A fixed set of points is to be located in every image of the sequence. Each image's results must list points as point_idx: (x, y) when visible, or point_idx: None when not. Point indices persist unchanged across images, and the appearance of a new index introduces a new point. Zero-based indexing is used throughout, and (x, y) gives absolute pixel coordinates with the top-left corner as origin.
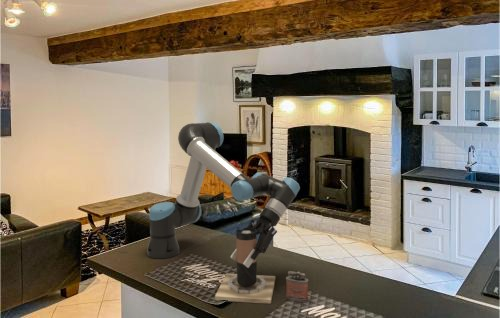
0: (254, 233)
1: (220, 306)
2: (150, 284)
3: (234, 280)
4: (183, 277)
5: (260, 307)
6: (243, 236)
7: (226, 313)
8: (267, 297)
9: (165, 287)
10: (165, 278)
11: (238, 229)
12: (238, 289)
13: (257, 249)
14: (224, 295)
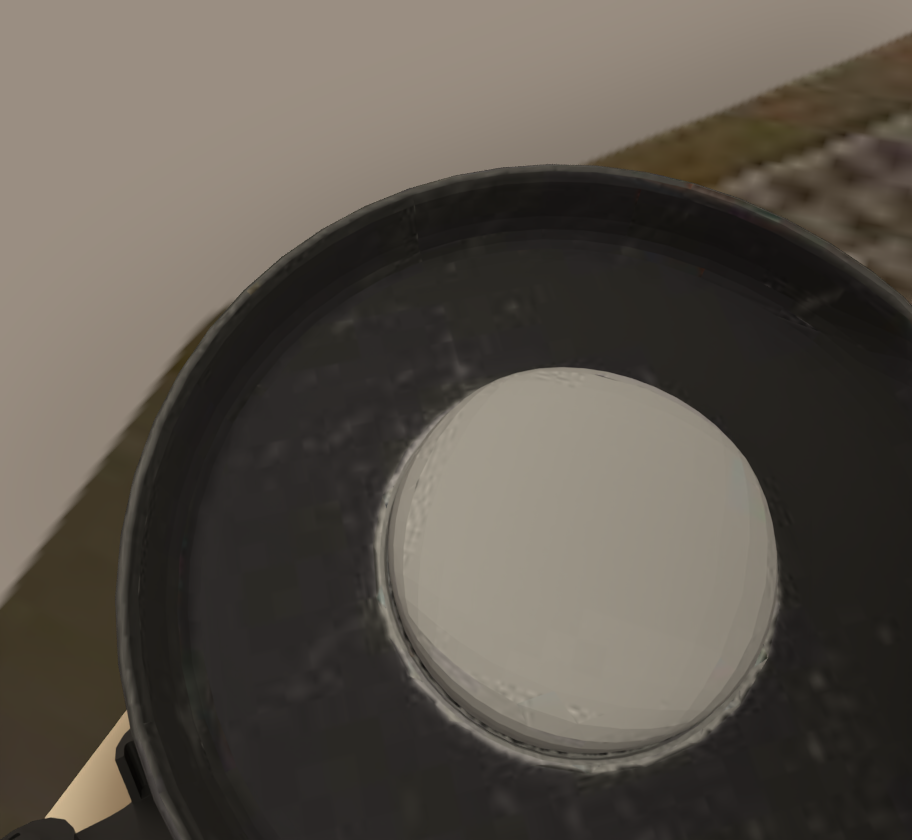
0: (147, 775)
1: None
2: (817, 80)
3: None
4: (900, 280)
5: (70, 680)
6: (283, 324)
7: (155, 385)
8: (107, 807)
9: (741, 143)
10: (905, 170)
11: (905, 316)
12: None
13: (141, 794)
14: None
